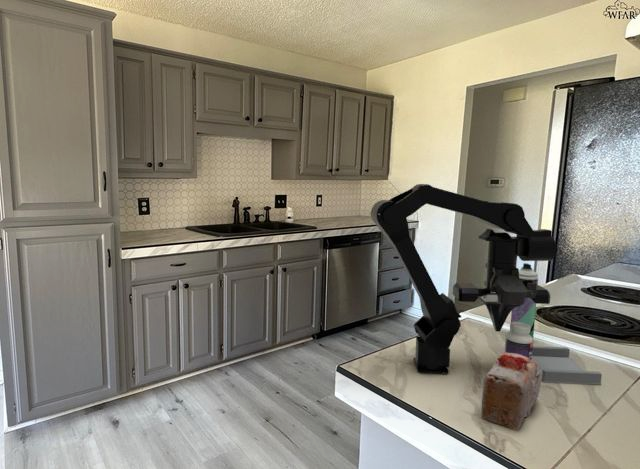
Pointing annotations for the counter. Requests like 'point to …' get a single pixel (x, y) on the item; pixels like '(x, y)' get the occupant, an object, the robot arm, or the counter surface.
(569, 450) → the counter surface
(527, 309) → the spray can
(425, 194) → the robot arm
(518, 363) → the food item
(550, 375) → the tray
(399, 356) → the counter surface
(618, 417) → the counter surface
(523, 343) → the pill bottle
